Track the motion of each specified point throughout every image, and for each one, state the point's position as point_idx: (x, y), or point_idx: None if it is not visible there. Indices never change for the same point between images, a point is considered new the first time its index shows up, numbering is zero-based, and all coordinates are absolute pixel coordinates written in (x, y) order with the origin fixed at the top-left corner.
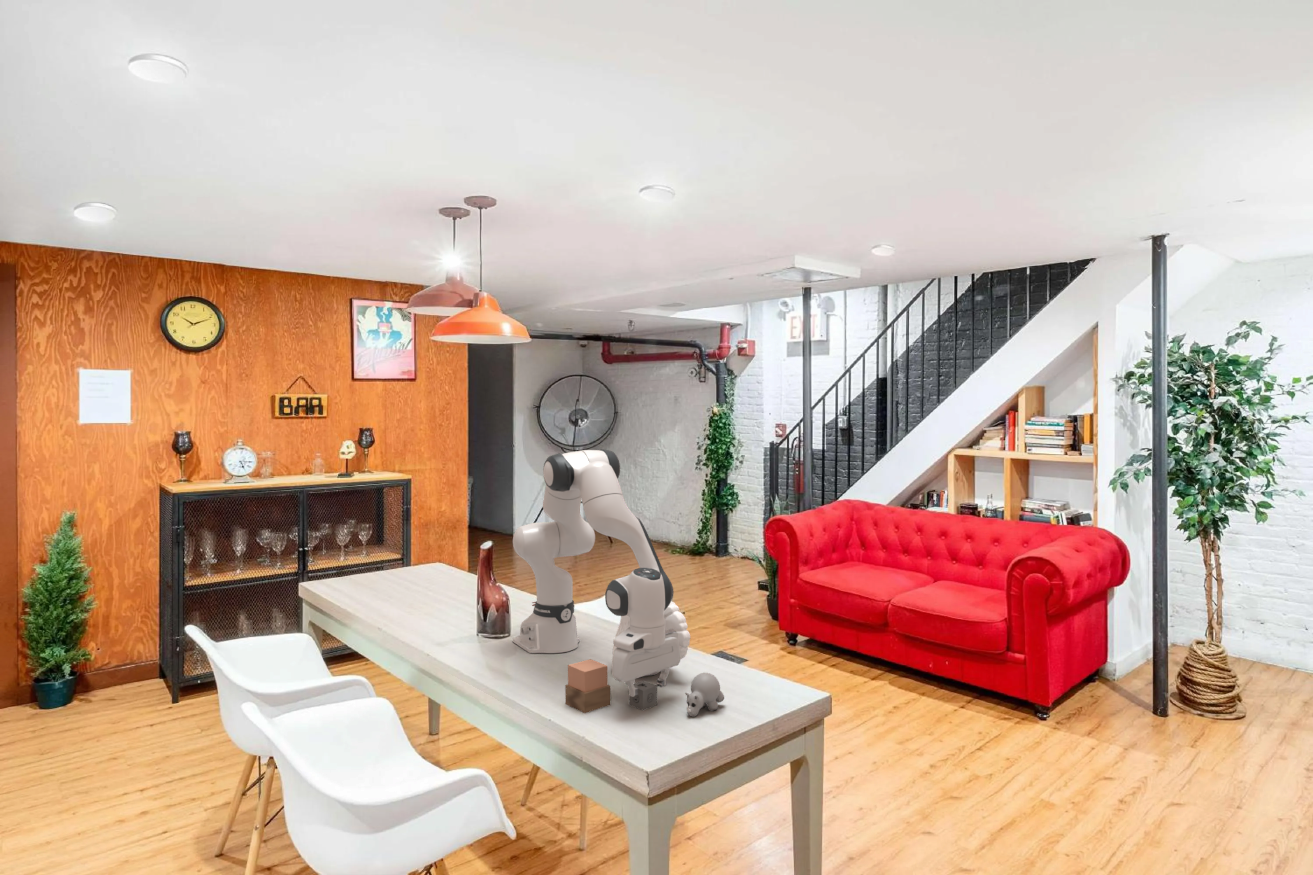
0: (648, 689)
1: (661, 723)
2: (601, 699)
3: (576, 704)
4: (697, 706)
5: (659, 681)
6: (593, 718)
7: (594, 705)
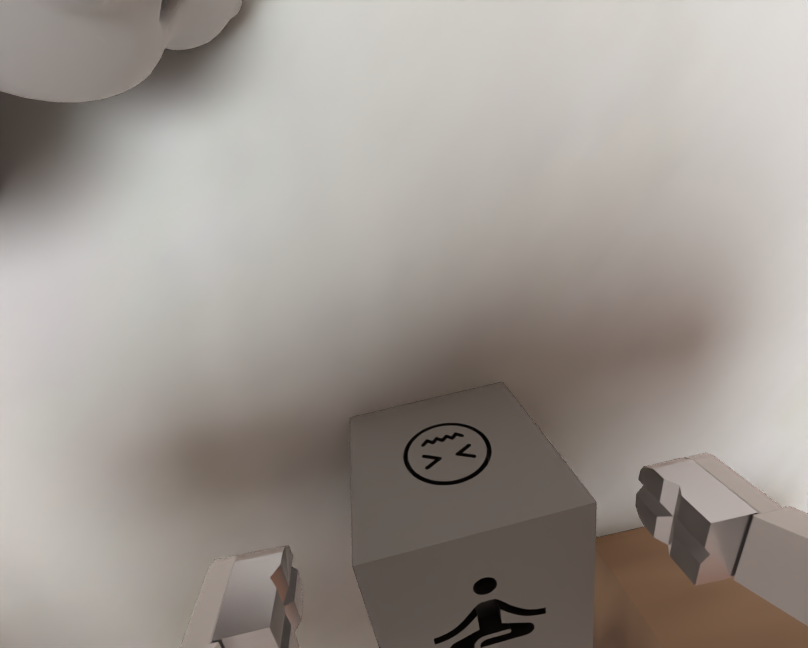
0: (501, 516)
1: (579, 50)
2: None
3: None
4: None
5: (282, 631)
6: (797, 423)
7: None
